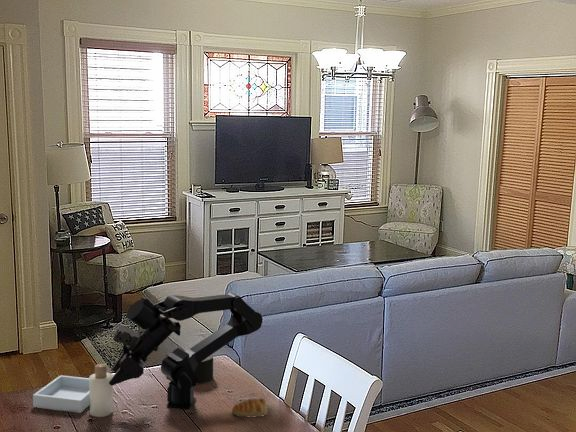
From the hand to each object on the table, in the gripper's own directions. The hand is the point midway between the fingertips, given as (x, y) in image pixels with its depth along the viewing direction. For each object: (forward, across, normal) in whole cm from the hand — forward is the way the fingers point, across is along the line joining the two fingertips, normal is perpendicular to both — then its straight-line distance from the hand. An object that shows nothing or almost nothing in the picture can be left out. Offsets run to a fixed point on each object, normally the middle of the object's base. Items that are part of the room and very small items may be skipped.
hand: (111, 377), depth 174 cm
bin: (+16, -9, -2) cm, 18 cm away
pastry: (-19, +5, +34) cm, 39 cm away
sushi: (-10, -20, +24) cm, 33 cm away
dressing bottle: (+9, 0, +5) cm, 10 cm away
